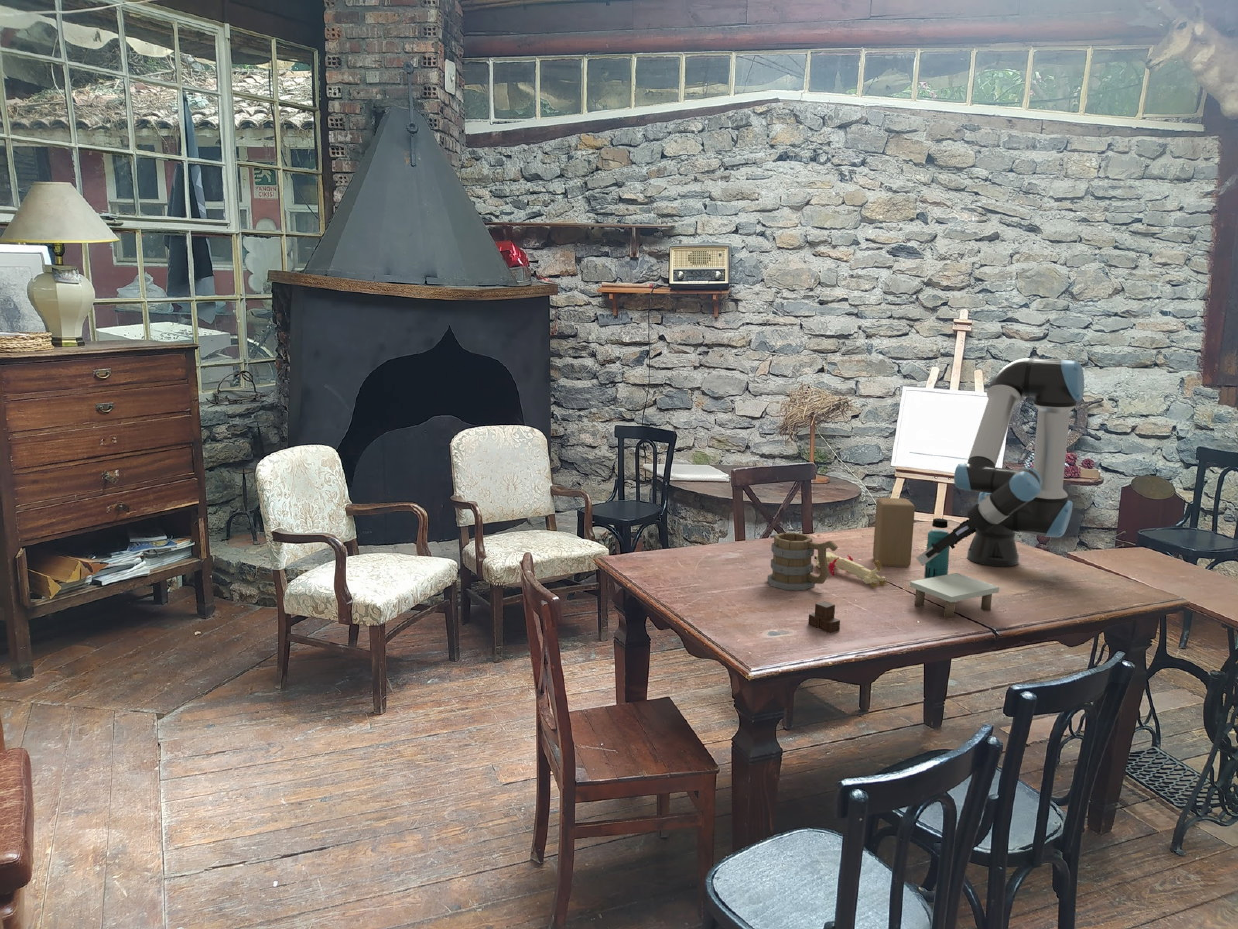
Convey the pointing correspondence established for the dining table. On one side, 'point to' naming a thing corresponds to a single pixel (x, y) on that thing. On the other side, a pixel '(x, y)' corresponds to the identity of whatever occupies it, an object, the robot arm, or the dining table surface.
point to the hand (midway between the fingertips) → (925, 559)
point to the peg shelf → (953, 591)
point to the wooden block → (893, 532)
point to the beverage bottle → (939, 562)
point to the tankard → (797, 561)
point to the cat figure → (854, 569)
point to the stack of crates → (824, 617)
